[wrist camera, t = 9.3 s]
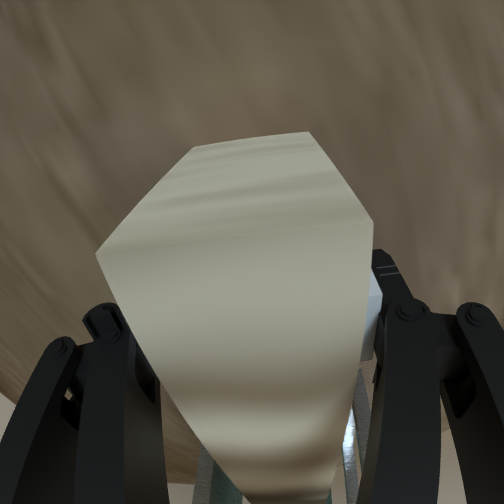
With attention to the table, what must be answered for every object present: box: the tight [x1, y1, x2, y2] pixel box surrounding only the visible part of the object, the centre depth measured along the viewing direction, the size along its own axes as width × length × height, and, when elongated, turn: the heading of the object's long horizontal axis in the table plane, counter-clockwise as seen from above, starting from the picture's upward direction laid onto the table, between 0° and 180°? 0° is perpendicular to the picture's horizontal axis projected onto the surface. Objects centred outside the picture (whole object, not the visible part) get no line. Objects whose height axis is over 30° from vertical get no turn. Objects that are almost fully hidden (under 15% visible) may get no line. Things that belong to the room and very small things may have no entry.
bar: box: [95, 132, 374, 504], centre depth 15 cm, size 22×5×9 cm, turn 8°
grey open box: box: [192, 370, 371, 504], centre depth 18 cm, size 10×11×12 cm
